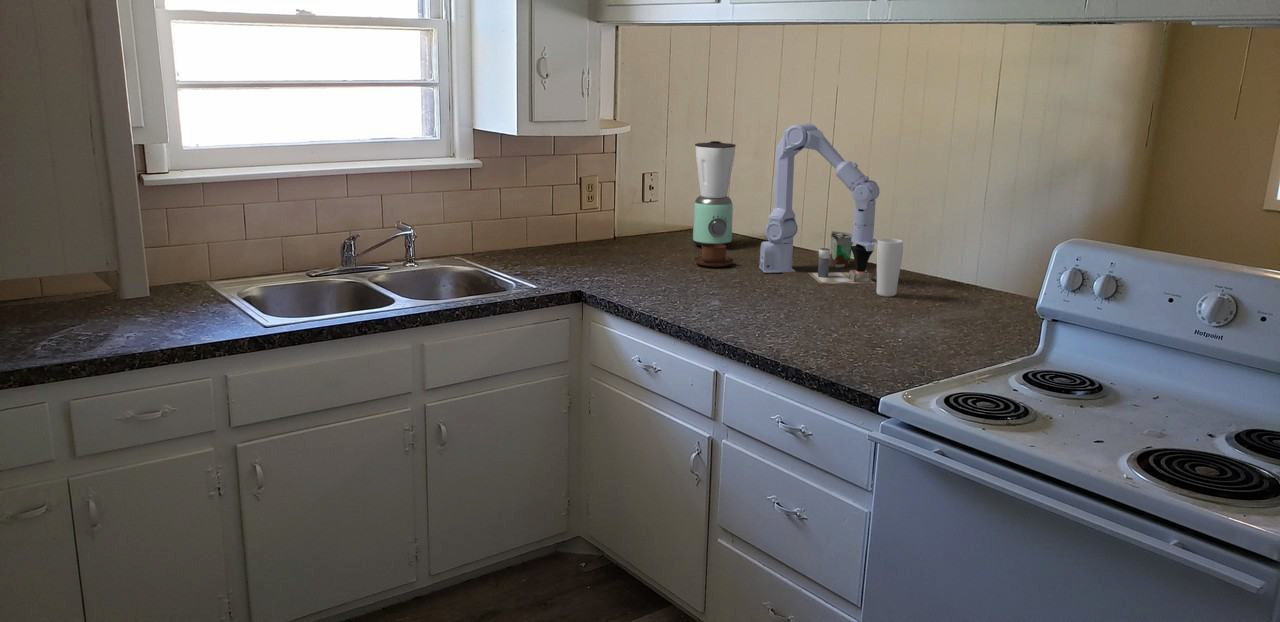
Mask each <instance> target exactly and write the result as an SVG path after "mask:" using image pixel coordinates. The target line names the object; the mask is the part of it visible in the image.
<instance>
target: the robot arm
mask: <svg viewBox="0 0 1280 622" xmlns="http://www.w3.org/2000/svg"><path fill="white" fill-rule="evenodd" d="M782 134H783V136H782V138H781V139H780V141H779V143H778V145H777V146H776V149H775V165H774V166H775V167H774V172H775V173H774V193H773V210H772V211H771V212H770V214H769V216H768V222H767V224H766V227H765V236H766V237H767V239H768V241H762V242H761V244H760V248H759V249H760V252H759V266H758V267H759V269H760V270H761V271H763V273H764V274H765V273H766V274H768V273H769V274H771V273H772V274H776V273H777V274H779V273H780V274H782V273H783V272H786V273H787V272H791V273H792V272H796V270H795V269H794V268H793V255H794V252H793V251H794V249H793V248H794V237H795V236H796V235H797V233H798V224H797V222H796V221H797V220H796V214H795V211H794V210H793V195H794V172H795V171H794V170H795V156H796V155H797V154H798V153H800V152H801V151H802V150H804V149H806V150H813V151H817V152H818V153H819V154H820V155H821V157H822V158H824V160H826V161H827V162H828V163H829V164H830V165H831V166H832V167H833V168H834V169H835V175H836V177H837V178H838V179H839V180H840V181H841V182H842V184H844V186H845V187H847V189H848V190H849V191H850V192H851V196H852V198H853V200H854V212H853V223H852V224H853V225H852V226H853V227H852V237H851V242H853V244H855V245H852V246H851V253H852V255H853V258H854V265H855V266H854V267H855V270H856V271H858V272H865V270H866V268H867V265H868V264H869V263H868V262H869V259H870V257H871V256H872V254H873V252H874V251H875V243H878V239H876V238H874V231H875V219H876V217H875V216H876V205H877V204H876V202H877V200H876V199H878V197H879V195H880V191H881V190H880V187H879V185H878V184H877V182H876V181H875V180H871V179H870V177H869V176H868V175H866V174H864V173H863V171H861V170H860V169H859V168H858V167H859V164H857V163H856V162H853V161H852V160H850V161H849V160H847V161H846V160H845V159H844V157H842V155H841V154H840V153H839V152H838V151H837V150H836V148H835V147H834V145H832V143H831V142H830V141H829V140H828V139H827V138H826V137H825V135H824V133H823V132H822V131H821V130H820V129H818V127H817V126H816V125H814V124H813V123H803V124H793V125H790V126H789V127H788V128H787V129H785V130H784V131H783V133H782ZM869 179H870V180H869Z"/></svg>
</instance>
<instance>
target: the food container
mask: <svg viewBox="0 0 1280 622" xmlns="http://www.w3.org/2000/svg"><path fill="white" fill-rule="evenodd" d="M852 235H853V233H850V232H845V231H833V230H832V231H831V234H830V238H831V239H830V258H829V263H831V264H832V265H833V267H835V268H836V269H840V268H841V269H843V268H847V267H850V264H851V263H850V262H851V257H852V250H851V246H853V244H854V243H853V242H851V237H852Z"/></svg>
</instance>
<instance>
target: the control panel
mask: <svg viewBox="0 0 1280 622" xmlns="http://www.w3.org/2000/svg"><path fill="white" fill-rule="evenodd" d="M855 270H856V269H854V270H852V269H850V270H849V272H846V271H845V272H843V271H841V272H838V271H837V272H836V271H835V272H829V274H828V277H818V272H807V274H808V275H809V276H811V277H812V278H813V279H814V280H815V281H817V282H818V283H819V284H822V285H824V284H876V282H875V281H873V280H872V273H871V272H869V271H868V270H866V269H865V271H866V273H855Z"/></svg>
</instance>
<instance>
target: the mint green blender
mask: <svg viewBox="0 0 1280 622" xmlns="http://www.w3.org/2000/svg"><path fill="white" fill-rule="evenodd" d="M694 146H695V161H696V167H697V168H696V169H697V176H698V177H697V178H698V185H699V193H700V195H698V196H697V197H696V199H695V200H694V204H693V224H692V225H693V229H692V243H693V244H695V245H696V246H700V249H701V248H702V245H704V244H722V245H725V246H726V248H728V249H729V248H730V245H731V244H732V241H733V211H734V209H733V201H732V199H731V198H730V197H729V196H728V192H729V187H730V182H731V177H732V170H733V166H734V161H735V152H736V147H737V144H735V143H728V142H726V143H725V142H721V141H719V140H718V141H716V140H713V141H712V140H711V141H710V142H709V141H708V142H698V143H695V144H694Z"/></svg>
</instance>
